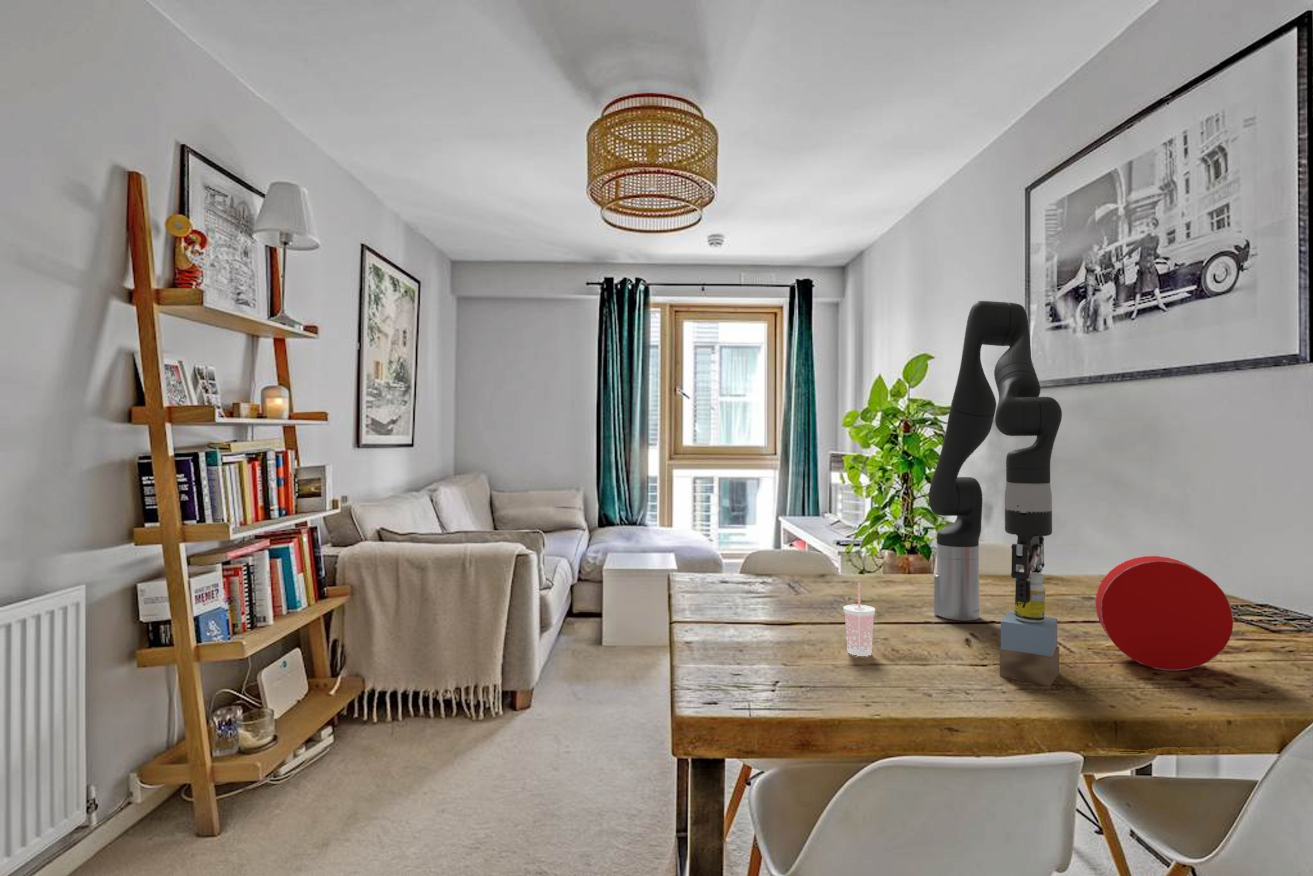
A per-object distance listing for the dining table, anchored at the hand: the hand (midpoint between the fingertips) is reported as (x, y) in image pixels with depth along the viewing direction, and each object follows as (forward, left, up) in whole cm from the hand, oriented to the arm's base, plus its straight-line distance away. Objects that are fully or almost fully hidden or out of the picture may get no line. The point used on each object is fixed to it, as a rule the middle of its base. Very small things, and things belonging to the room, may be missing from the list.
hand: (1028, 597), depth 124 cm
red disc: (+18, +21, -14) cm, 31 cm away
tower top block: (0, 0, -9) cm, 9 cm away
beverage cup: (-29, -7, -14) cm, 33 cm away
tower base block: (0, 0, -14) cm, 14 cm away
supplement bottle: (0, 0, -4) cm, 4 cm away
